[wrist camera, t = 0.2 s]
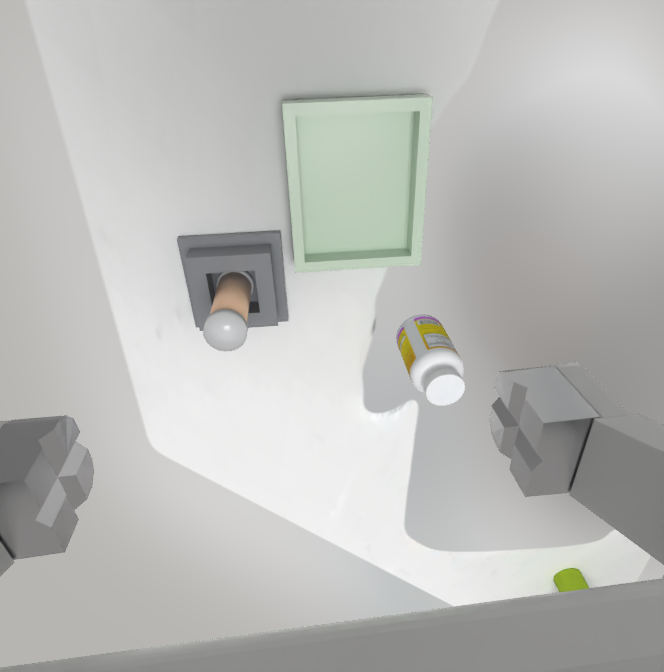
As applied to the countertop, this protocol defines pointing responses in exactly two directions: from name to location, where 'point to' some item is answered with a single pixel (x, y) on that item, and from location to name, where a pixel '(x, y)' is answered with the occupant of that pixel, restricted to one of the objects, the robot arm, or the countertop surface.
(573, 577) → the soap dispenser
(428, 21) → the countertop surface
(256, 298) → the socket block
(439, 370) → the supplement bottle
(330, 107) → the parts tray
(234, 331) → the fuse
